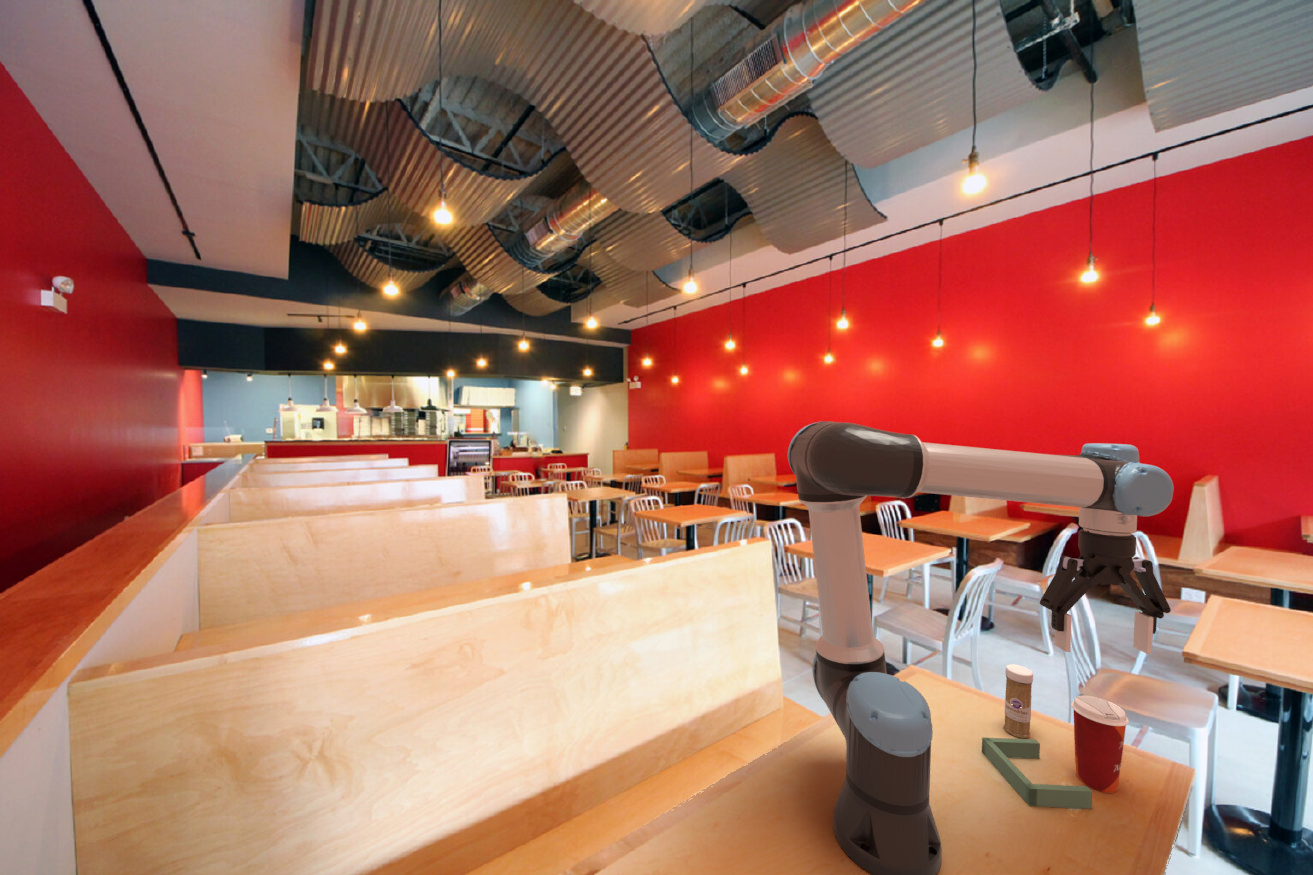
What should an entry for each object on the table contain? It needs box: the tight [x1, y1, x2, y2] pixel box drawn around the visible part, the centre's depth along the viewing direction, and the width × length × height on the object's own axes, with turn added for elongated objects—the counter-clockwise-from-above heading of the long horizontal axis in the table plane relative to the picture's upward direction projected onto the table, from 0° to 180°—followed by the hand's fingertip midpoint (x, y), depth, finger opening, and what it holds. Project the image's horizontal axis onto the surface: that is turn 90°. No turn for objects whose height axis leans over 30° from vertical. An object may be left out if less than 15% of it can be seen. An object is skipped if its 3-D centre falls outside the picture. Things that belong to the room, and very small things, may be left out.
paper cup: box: [1070, 694, 1130, 794], centre depth 89 cm, size 8×8×14 cm
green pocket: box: [981, 736, 1093, 810], centre depth 90 cm, size 10×13×3 cm
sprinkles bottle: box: [1003, 663, 1034, 739], centre depth 103 cm, size 5×5×14 cm
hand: (1102, 649), depth 88 cm, fingers open, 13 cm apart
